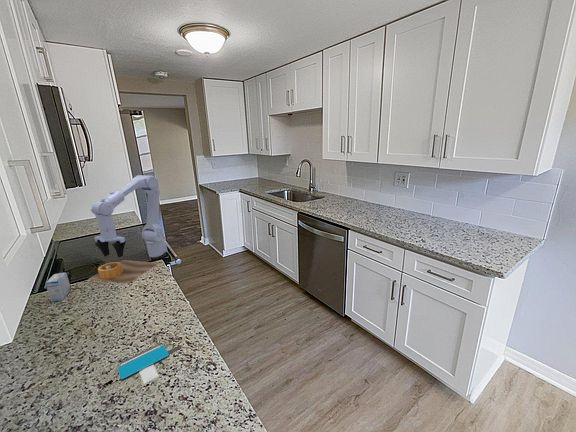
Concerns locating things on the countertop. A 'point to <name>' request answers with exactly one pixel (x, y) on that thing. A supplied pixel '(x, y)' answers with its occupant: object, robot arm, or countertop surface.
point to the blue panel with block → (144, 363)
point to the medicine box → (58, 287)
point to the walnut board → (128, 271)
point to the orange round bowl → (110, 270)
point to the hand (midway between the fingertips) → (113, 255)
